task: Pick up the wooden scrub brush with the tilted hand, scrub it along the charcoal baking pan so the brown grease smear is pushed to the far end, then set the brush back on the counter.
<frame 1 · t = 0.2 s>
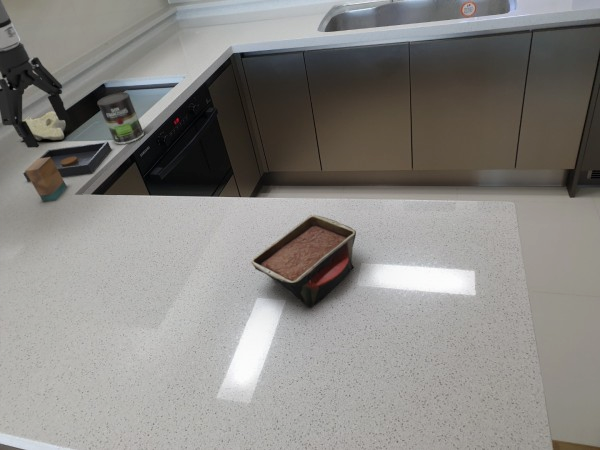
hand: (49, 132, 115), 20 cm above the table, tool pointing down, fingers open, 13 cm apart
grease smear: (70, 163, 147), point 1 cm above the table, touching pan
pan: (71, 165, 147), on the table
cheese: (46, 141, 170), on the table
coffee can: (129, 138, 158), on the table
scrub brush: (55, 194, 132), on the table
baking dish: (311, 276, 86), on the table
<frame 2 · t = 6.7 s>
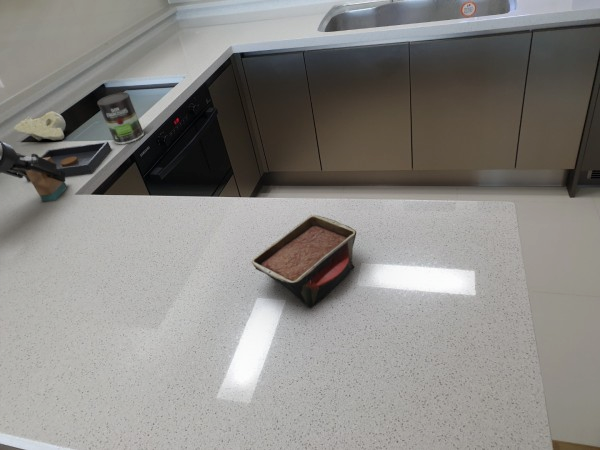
hand: (56, 177, 133), 3 cm above the table, tool tilted 45°, fingers closed on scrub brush, 4 cm apart
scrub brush: (55, 194, 132), on the table, touching gripper
everything else where it was.
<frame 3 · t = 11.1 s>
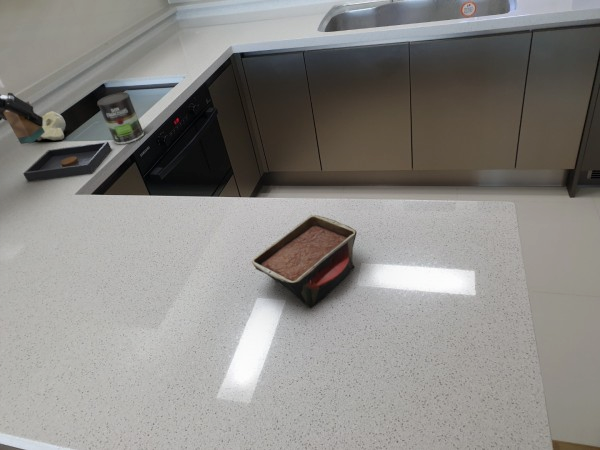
hand: (34, 122, 140), 15 cm above the table, tool tilted 45°, fingers closed on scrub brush, 4 cm apart
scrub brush: (33, 138, 139), point 12 cm above the table, touching gripper
everything else where it was.
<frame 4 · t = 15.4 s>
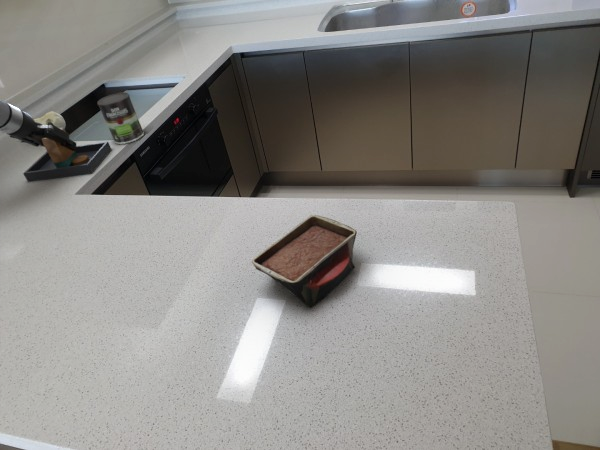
hand: (68, 147, 148), 4 cm above the table, tool tilted 45°, fingers closed on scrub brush, 4 cm apart
grease smear: (81, 161, 146), point 1 cm above the table
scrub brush: (67, 162, 146), point 1 cm above the table, touching gripper
everything else where it was.
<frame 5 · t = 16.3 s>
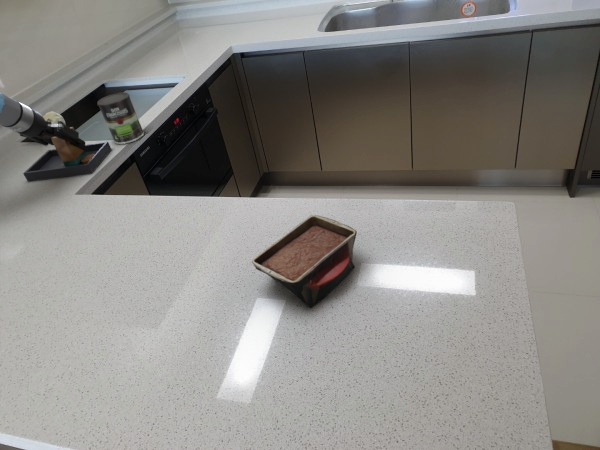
hand: (77, 146, 147), 4 cm above the table, tool tilted 45°, fingers closed on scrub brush, 4 cm apart
grease smear: (90, 160, 146), point 1 cm above the table, touching pan
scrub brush: (76, 161, 146), point 1 cm above the table, touching gripper
everything else where it was.
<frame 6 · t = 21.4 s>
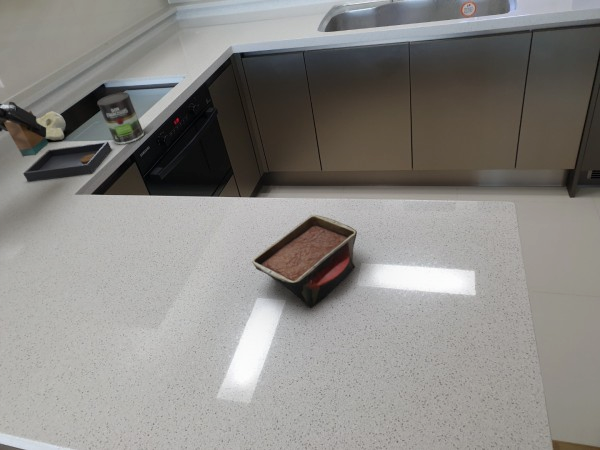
hand: (37, 133, 130), 15 cm above the table, tool tilted 45°, fingers closed on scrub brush, 4 cm apart
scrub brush: (36, 149, 129), point 12 cm above the table, touching gripper
everything else where it was.
when the fingers open (3 cm above the table, at t = 25.6 s): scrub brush stays where it is, on the table.
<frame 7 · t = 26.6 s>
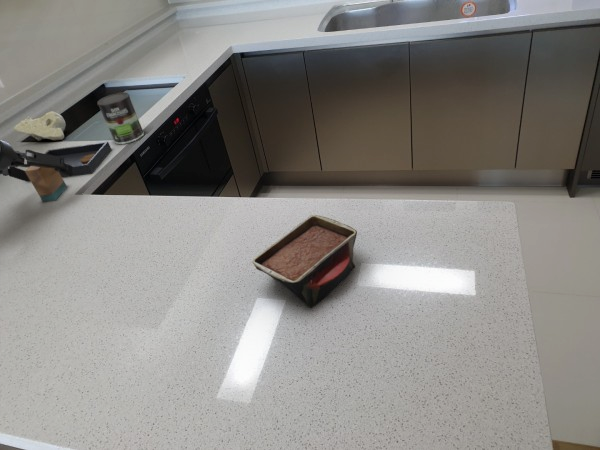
hand: (49, 174, 131), 5 cm above the table, tool tilted 45°, fingers open, 13 cm apart
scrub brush: (55, 194, 132), on the table
everything else where it was.
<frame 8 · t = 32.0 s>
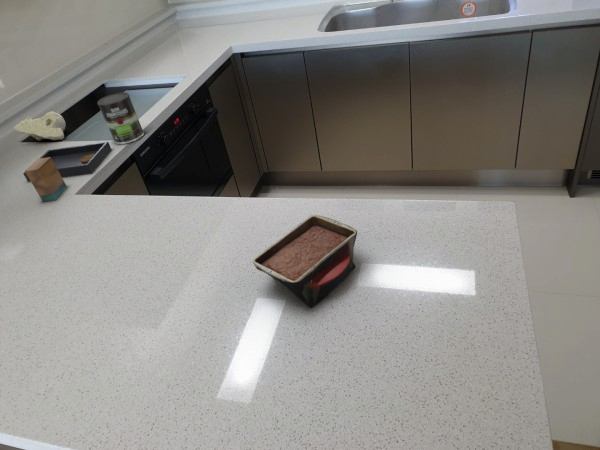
nothing on the table moved.
at the end: grease smear inside the target area in the pan (0.3 cm from its centre), point 0.8 cm above the pan's base; grease smear moved 6.9 cm from its start; the gripper is holding nothing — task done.
